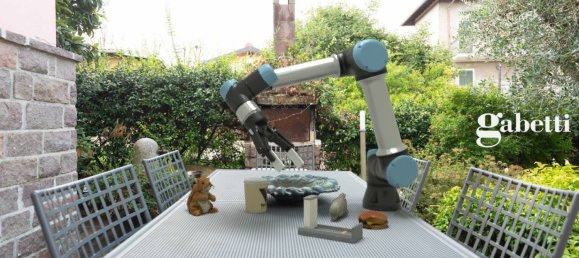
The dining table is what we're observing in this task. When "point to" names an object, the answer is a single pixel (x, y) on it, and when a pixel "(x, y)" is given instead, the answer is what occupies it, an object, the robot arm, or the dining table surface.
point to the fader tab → (310, 211)
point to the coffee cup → (256, 194)
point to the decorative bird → (338, 207)
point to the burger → (373, 220)
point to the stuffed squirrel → (201, 197)
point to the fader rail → (334, 232)
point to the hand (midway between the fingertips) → (291, 167)
